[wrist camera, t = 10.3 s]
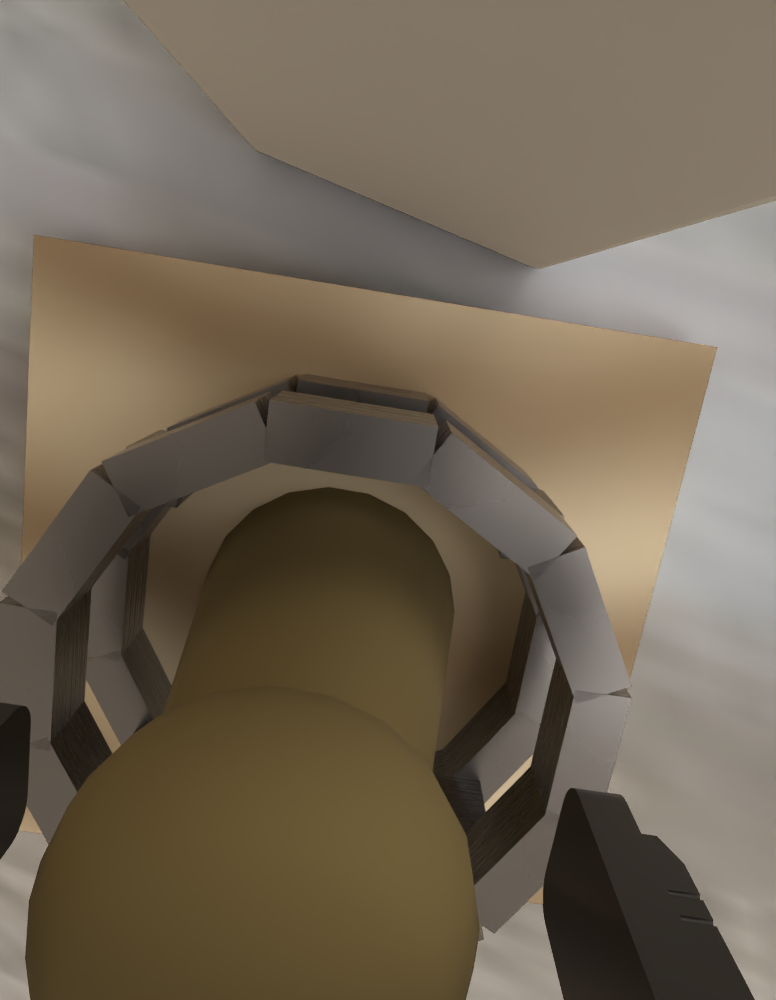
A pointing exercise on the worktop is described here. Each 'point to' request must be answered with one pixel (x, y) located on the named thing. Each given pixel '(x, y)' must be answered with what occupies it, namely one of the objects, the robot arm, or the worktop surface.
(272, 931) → the olive rounded tall piece
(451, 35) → the milk carton
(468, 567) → the birch board
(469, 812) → the iron collars
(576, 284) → the worktop surface
